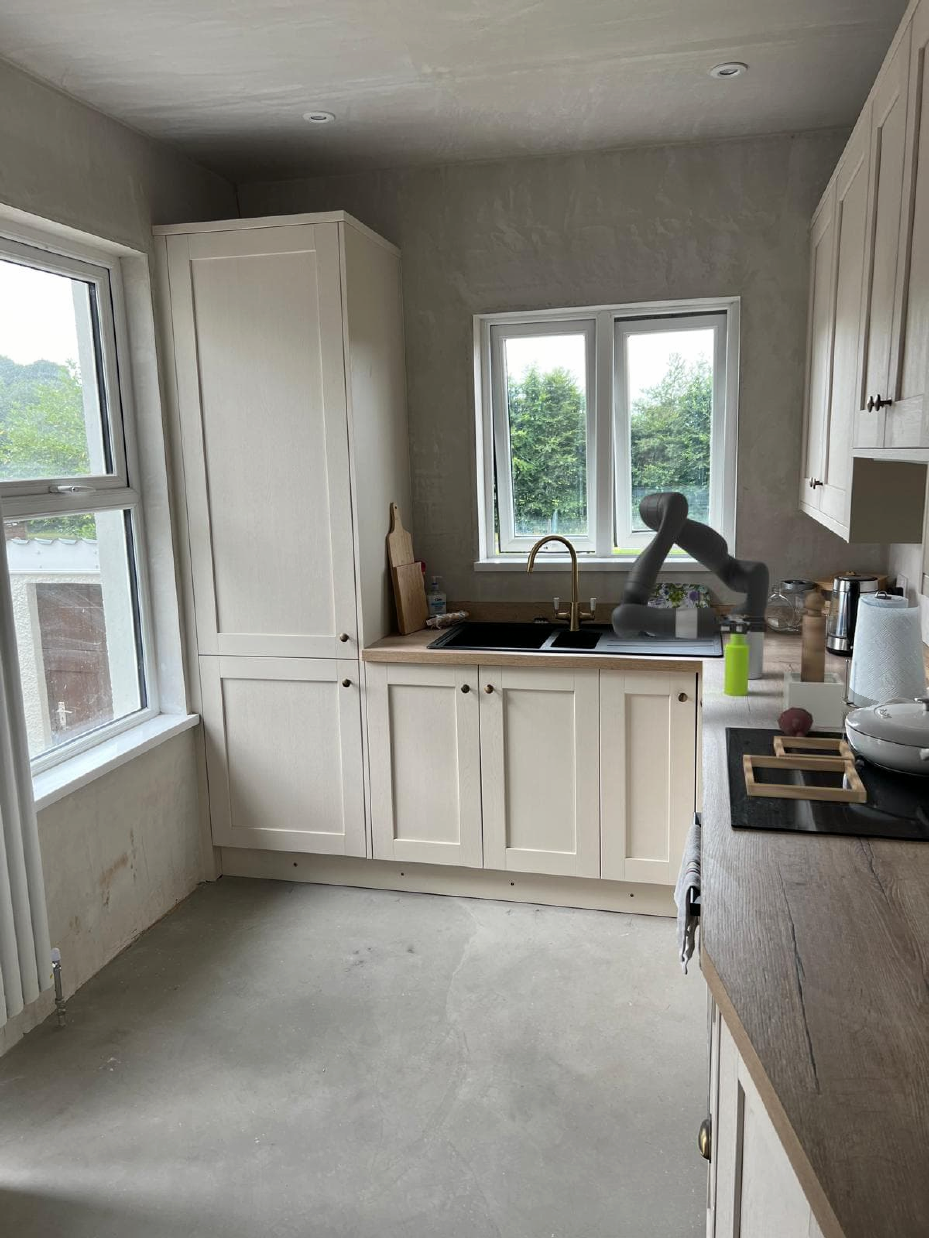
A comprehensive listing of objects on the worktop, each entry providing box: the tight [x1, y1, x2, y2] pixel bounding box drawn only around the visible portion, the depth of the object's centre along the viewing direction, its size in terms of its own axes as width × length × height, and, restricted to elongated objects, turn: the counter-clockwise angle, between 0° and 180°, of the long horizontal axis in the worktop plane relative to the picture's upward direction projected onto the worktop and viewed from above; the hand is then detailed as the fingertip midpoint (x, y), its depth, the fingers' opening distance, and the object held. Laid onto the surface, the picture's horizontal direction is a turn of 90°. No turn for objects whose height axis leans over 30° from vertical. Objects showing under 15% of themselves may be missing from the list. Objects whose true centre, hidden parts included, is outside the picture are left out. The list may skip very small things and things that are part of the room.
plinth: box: [782, 670, 845, 729], centre depth 217 cm, size 12×12×10 cm
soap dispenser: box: [723, 634, 749, 697], centre depth 242 cm, size 6×7×20 cm
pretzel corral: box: [742, 754, 867, 804], centre depth 175 cm, size 18×20×2 cm
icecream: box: [777, 707, 813, 737], centre depth 204 cm, size 7×8×15 cm
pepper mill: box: [800, 592, 827, 683], centre depth 214 cm, size 5×5×22 cm
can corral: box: [773, 735, 856, 768], centre depth 191 cm, size 13×14×2 cm
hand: (765, 624), depth 217 cm, fingers open, 8 cm apart
